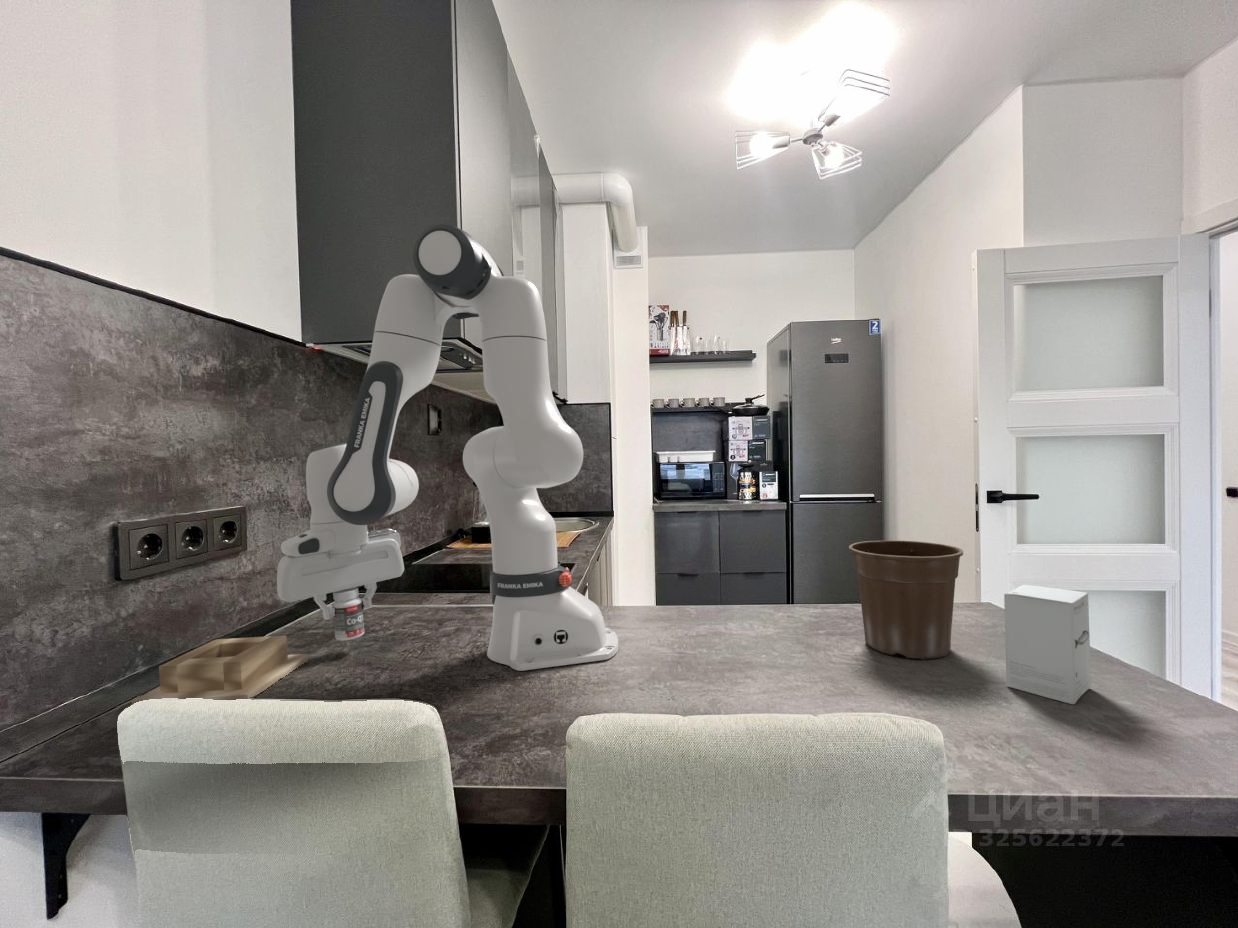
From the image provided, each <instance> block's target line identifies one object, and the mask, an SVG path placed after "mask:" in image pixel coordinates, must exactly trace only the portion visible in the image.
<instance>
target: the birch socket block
mask: <svg viewBox="0 0 1238 928" xmlns="http://www.w3.org/2000/svg"><path fill="white" fill-rule="evenodd" d="M287 639H288V638H287V635H272V636H254V637H252V636H251V637H238V638H218V639H214V640H211V641H209V642H208V643H205V644H203V645H201V646H198V647H197V648H195V649H193V650H191V651H188V652H186V653H184V654H182V655H180V656H178V657H176V658H172V660H169V661H167V662H166V663H162V664H161V665H158V673H159V686H158V687H157V688H155V689H153V690H151V691H149V692H147V693H145V694H144V695H142V696H139V697H138V698H135V699H134V700H132V701H131V705H132V704H134V703H136V702H139V701H143V700H149V699H162V698H178V699H186V698H203V699H213V700H236V699H253V700H254V699H255V698H250V697H253V696H255V695H257V694H259V693H260V692H262V691H264V690H266V689H267V688H268V687H270V686H271V685H272V684H274V683H275V682H276V681H278V680H279V679H280V678H283V677H284V678H286V677H287V676H289V675H290V674H291V673H290V672H292V671H293V670H295V669H296V668H297V669H299V668H300V667H302V666H303V665H305V664H306V663H308V662H309V661H308V660H309V653H297V654H295V653H294V654H288V640H287ZM305 662H306V663H305ZM304 663H305V664H304ZM302 664H303V665H302ZM301 665H302V666H301ZM299 666H300V667H299ZM298 667H299V668H298ZM297 669H296V670H297ZM296 670H295V671H296ZM293 672H294V671H293ZM293 672H292V673H293ZM289 673H290V674H289ZM288 674H289V675H288ZM286 675H287V676H286ZM285 676H286V677H285ZM284 678H283V679H284ZM274 685H275V684H274ZM270 688H271V687H270ZM267 690H268V689H267ZM267 690H266V691H267ZM264 692H265V691H264Z"/></svg>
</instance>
